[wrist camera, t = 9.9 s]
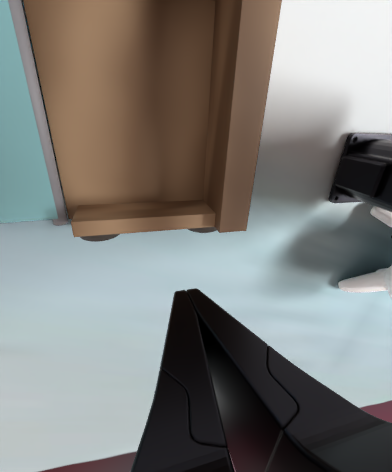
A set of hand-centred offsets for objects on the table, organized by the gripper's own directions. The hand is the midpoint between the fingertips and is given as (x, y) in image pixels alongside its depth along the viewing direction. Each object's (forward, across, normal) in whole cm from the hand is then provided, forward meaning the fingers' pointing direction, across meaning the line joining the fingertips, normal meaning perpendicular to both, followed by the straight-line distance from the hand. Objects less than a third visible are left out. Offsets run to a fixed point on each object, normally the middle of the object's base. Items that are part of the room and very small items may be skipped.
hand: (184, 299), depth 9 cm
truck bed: (+12, 0, -6) cm, 14 cm away
